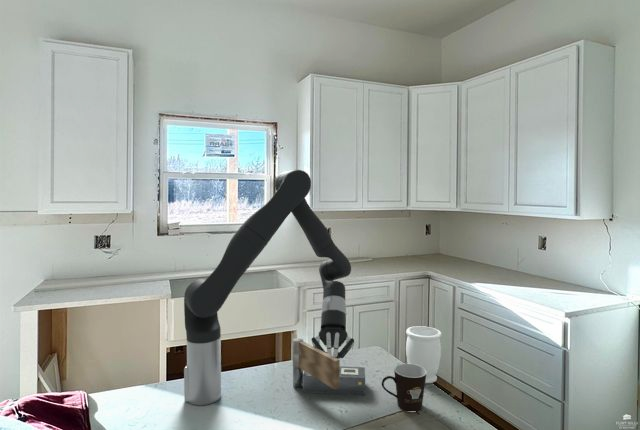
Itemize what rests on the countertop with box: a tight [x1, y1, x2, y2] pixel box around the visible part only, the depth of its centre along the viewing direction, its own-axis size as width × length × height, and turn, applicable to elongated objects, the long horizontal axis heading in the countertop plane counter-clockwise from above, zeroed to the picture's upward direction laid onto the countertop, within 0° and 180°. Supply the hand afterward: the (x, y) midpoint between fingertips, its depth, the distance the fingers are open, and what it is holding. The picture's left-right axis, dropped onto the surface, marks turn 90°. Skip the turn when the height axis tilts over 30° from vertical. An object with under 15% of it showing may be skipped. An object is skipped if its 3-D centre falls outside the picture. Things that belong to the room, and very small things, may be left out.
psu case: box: [302, 365, 366, 396], centre depth 116 cm, size 18×7×5 cm, turn 85°
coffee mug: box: [381, 362, 427, 413], centre depth 107 cm, size 12×9×10 cm
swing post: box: [292, 366, 304, 389], centre depth 118 cm, size 3×3×6 cm
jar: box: [405, 325, 442, 384], centre depth 123 cm, size 11×10×15 cm
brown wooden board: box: [292, 338, 341, 390], centre depth 111 cm, size 20×3×8 cm, turn 38°
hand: (332, 372), depth 108 cm, fingers closed
